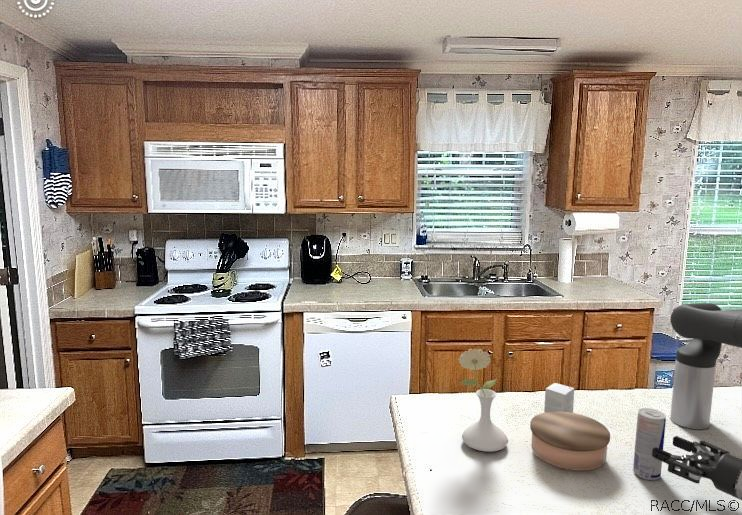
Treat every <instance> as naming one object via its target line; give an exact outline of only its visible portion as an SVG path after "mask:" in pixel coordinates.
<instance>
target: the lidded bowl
mask: <svg viewBox="0 0 742 515" xmlns="http://www.w3.org/2000/svg"><path fill="white" fill-rule="evenodd" d="M529 427H530V431H531V443H530V444H531V445H530V446H531V450H532V451H533V453H534V454H535V455H536V457H538V458H539V459H541V460H543V461H545V462H546V463H548V464H550V465H552V466H556V467H558V468H562V469H565V470H572V471H587V470H588V471H589V470H594V469H597V468H601V466H603V465H604V464H605V463H606V461H607V454H608V453H607V452H608V445H609V444H610V442H611V432H610V430H609V429H608V428H607V426H606V425H604V424H602V423H601V422H600V421H598V420H596V419H594V418H592V417H589V416H586V415H583V414H580V413H575V412H572V413H571V412H561V411H553V412H542V413H539V414H536V415H535V416H533V417H532V418H531V420H530V423H529Z"/></svg>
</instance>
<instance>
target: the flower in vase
mask: <svg viewBox="0 0 742 515" xmlns="http://www.w3.org/2000/svg"><path fill="white" fill-rule="evenodd" d="M457 360H458V362H459V365H460V366H461V367H462V368H463V369H465V370H466V369H468V370H469V371H474V378H475V380H473V379H471V378H466V379H464V380H462V381H461V382H460V383H459V385H464V386H468V387H473V386H475V385H476V384H477V385H478V387H479V388H480V389H477V390H476V391H475V394H476V396H477V397H478V400H479V402H480V418H479V420H478V421H476V422H474V423H472V424H471V425H469V426H468V427H466V428H465V429H464V431H463V432H462V434H461V438H462V439H461V440H463V442H464V444H465V445H467V447H469V448H470V449H474V450H476V451H481V452H487V453H488V452H497V451H501V450H503V449H504V448H505V447H506V446H507V445H508V444H509V443H508V442H509V439H508V436H507V434H506V433H505V431H504V430H502V429H501V428H500V427H499V426H497V424H495V423H494V422H492V419H491V407H492V402H493V401H494V399H495V398H496V396H497V392H496V391H494V390H492V389H491V388H492V387H494V386H495V385H496V384H497V380H498V379H497V378H495V379H493V380H488V381H485V383H484V384H483V385H482V386H481V385H480V383H479V382H478V379H477V378H478V377H477V370H482V369H485V368H487V366H489V364H490V363H491V362H492V361H491V357H490V354H489V353H488V352H487V351H483V349H482V348H479V349H478V348H474V349H472V348H469V349H468V351H467V350H464V352H461V354H460V356H459V358H457Z"/></svg>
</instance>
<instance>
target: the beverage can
mask: <svg viewBox="0 0 742 515" xmlns="http://www.w3.org/2000/svg"><path fill="white" fill-rule="evenodd" d="M666 418H667V415H666V414H665V413H664V412H662V411H660V410H658V409H654V408H649V407H644V408H643V407H642V408H639V409H638V410H637V418H636V429H635V430H636V431H635V441H634V454H633V464H632V466H633V467H632V471H633V472H634V474H635V475H636V476H638V477H640V478H641V479H644V480H647V481H655V480H656V481H657V480H659V479H660V478H661V477H662V476H661V475H662V468H663V467H662V465H663V462H662V461H660V460H658V459H656V458H654V457H653V456H652V449H653V448H655V447H657V448H659V449H662V450H664V446H665V445H664V442H665V432H666V420H667V419H666Z"/></svg>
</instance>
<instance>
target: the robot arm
mask: <svg viewBox="0 0 742 515" xmlns="http://www.w3.org/2000/svg"><path fill="white" fill-rule="evenodd" d="M669 318H670V320H669V321H670V325H671V327H672V329H673V330H674V332H675V333H676V334H677V335H679V336H680V337H682V338H684V339H690V342H688V343H687V344H684V345H682V346H680V347H678V348H677V350H676V353H675V361H674V362H675V364H674V373H673V374H674V376H673V383H672V394H671V395H672V397H671V404H670V405H671V406H670V414H669V415H670V420H671V421H672V422H673V423H675V424H676V425H678V426H680V427H683V428H687V429H692V430H706V429H708V428H709V427H710V423H711V422H710V421H711V413H712V405H713V394H714V387H715V386H714V385H715V375H716V365H717V361H718V358H719V357H720V355H721V350H722V344H724V345H726V346H727V345H728V346H732V347H736V348H740V349H742V309H721V307H720V306H718V305H717V304H715V303H709V302H708V303H707V302H705V303H703V302H702V303H701V302H700V303H699V302H698V303H684V304H683V303H682V304H681V305H680V304H679V305H678V306H676V307H675V308H674V309H673V311H672V312H671V314H670V317H669ZM691 339H692V340H691ZM672 445H673V447H676V448H679V449H680V450H683V451H686V452H688V453H691V454H683V455H676V454H673V453H670V452H668V451H666V450H664V449H663V450H662V449H659V448H657V447H655V448H653V449H652V456H653V457H654V458H656V459H658V460H660V461H662V463H665V464H666V465H667V472H668V473H670V474H673V475H675V476H678V477H679V478H680V477H681V478H683V479H684V480H687V481H689V482H692V483H694V484H700V481H701V479H702V478H704V479H707V480H710V481H711V482H712V484H713V486H714V487H715V489H716V490H718V491H720V492H722V493H725V494H727V495H730V496H731V497H734V498H736V499H737V500H740V501H742V458H741V457H739V456H736V455H734V454H731V452H730V451H729V450H726V449H724V448H721V447H720V446H717V445H715V444H713V443H710V442H707V441H705V440H699V442H697V441H690V440H688V439H685V438H683V437H680V436H678V435H676V436H673V438H672ZM708 448H709V449H708Z"/></svg>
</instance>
